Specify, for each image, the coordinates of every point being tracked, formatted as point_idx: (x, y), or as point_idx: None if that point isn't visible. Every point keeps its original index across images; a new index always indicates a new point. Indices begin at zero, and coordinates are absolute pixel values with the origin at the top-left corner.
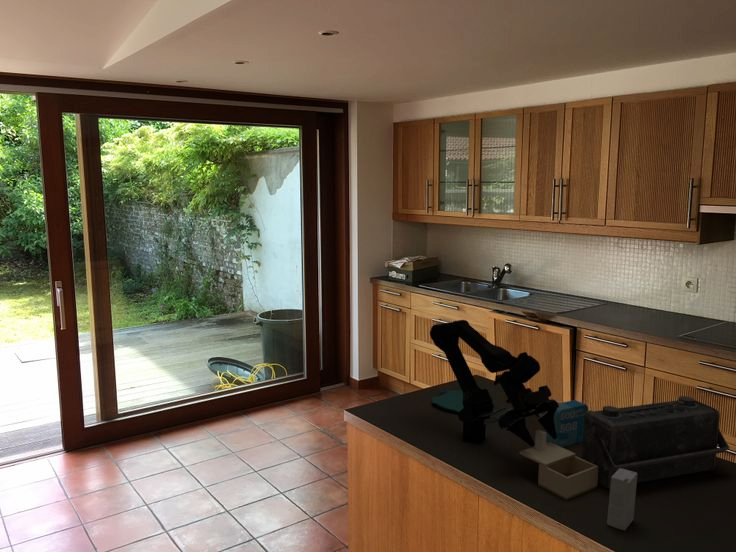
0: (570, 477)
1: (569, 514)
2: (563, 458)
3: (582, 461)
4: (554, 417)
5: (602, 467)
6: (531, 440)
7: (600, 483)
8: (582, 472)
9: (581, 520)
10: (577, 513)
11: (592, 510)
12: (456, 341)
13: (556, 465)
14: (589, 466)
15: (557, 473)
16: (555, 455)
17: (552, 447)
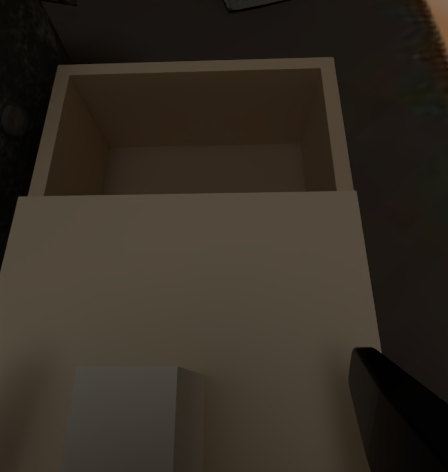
0: (306, 58)
1: (376, 76)
2: (158, 195)
3: (57, 152)
4: None
5: (48, 55)
6: (411, 380)
7: None
8: (199, 61)
9: (364, 39)
10: (342, 68)
11: (275, 58)
12: None
13: None
14: (70, 117)
15: (340, 114)
16: (170, 253)
17: (48, 381)
